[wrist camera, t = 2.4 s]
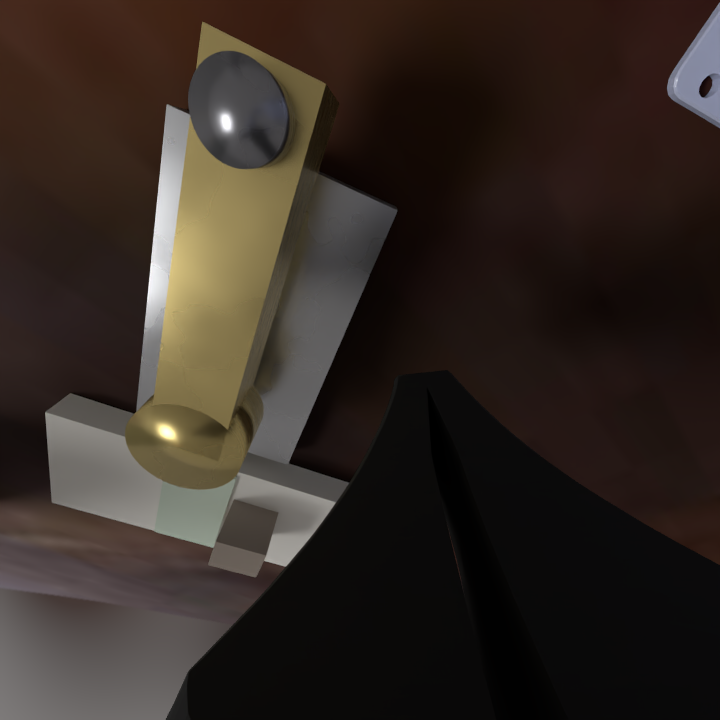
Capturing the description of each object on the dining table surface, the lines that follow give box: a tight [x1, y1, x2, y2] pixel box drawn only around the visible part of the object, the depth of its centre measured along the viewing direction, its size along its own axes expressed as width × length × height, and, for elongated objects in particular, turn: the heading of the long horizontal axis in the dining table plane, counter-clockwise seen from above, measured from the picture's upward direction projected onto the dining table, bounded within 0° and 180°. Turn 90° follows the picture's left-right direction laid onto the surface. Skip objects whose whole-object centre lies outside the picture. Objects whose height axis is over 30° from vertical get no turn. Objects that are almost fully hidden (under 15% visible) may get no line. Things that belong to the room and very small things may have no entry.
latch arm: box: [125, 22, 339, 490], centre depth 9 cm, size 4×12×3 cm, turn 158°
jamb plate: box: [136, 104, 398, 465], centre depth 13 cm, size 7×12×2 cm, turn 158°
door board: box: [45, 393, 349, 577], centre depth 17 cm, size 16×6×4 cm, turn 68°
